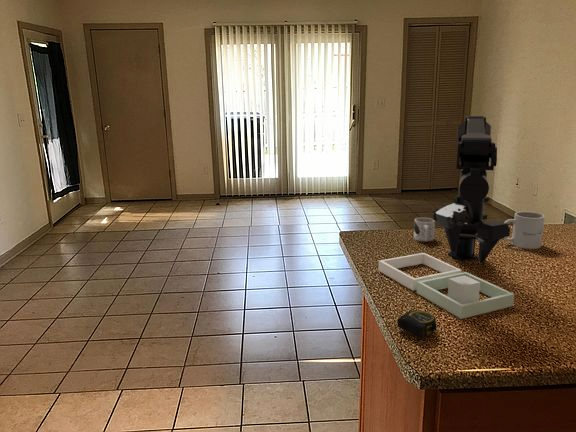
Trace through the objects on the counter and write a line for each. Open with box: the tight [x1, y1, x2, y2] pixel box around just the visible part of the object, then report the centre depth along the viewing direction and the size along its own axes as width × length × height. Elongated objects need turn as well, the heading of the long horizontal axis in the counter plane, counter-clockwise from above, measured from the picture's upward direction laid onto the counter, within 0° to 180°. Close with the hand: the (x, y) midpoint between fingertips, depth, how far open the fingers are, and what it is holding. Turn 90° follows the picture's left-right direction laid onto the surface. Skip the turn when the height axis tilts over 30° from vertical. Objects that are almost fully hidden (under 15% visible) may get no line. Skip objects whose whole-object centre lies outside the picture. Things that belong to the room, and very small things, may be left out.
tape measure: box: [396, 309, 437, 340], centre depth 100 cm, size 7×7×4 cm
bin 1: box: [377, 252, 463, 292], centre depth 131 cm, size 16×16×3 cm
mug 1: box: [413, 217, 436, 243], centre depth 161 cm, size 10×7×7 cm, turn 172°
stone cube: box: [447, 275, 480, 304], centre depth 115 cm, size 5×5×5 cm
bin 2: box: [416, 271, 515, 320], centre depth 116 cm, size 16×16×3 cm
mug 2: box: [503, 211, 545, 250], centre depth 155 cm, size 12×9×10 cm
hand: (466, 256), depth 113 cm, fingers open, 9 cm apart
